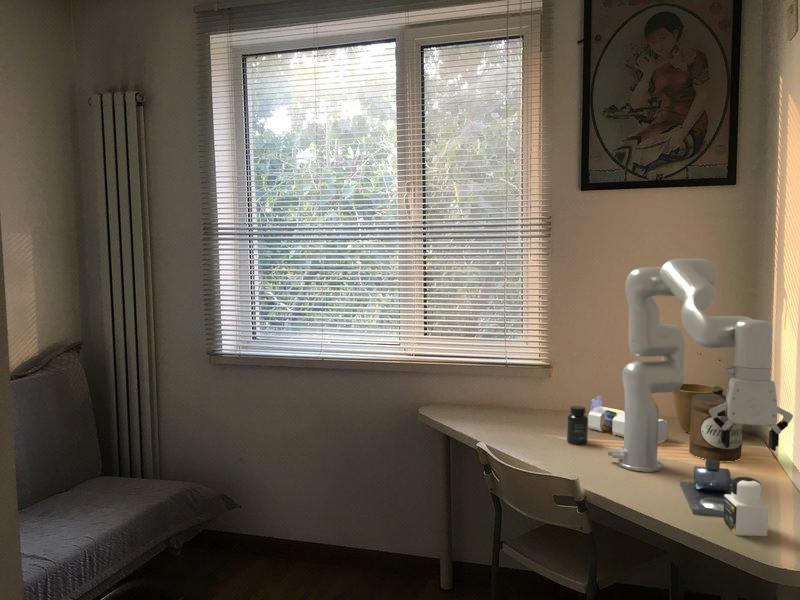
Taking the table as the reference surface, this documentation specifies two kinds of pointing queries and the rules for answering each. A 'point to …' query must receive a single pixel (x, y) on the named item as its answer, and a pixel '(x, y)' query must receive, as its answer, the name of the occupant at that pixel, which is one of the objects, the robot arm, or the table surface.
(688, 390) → the plant pot
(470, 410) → the table surface
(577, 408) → the supplement bottle
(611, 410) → the diorama
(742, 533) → the medicine bottle
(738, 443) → the wooden container
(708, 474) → the motor base
